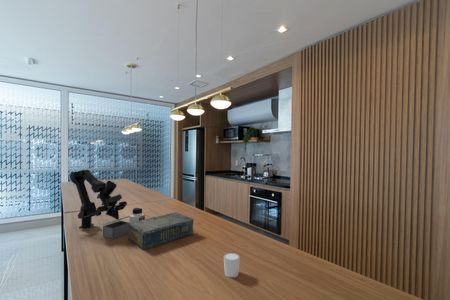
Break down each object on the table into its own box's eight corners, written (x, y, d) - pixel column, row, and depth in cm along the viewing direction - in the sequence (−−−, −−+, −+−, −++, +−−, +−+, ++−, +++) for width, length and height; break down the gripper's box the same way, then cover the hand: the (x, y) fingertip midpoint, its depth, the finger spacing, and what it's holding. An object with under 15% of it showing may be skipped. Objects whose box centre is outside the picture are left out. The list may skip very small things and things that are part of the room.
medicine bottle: (138, 228, 143) (139, 209, 143) (129, 227, 144) (129, 209, 144) (144, 224, 150) (145, 207, 150) (135, 223, 151) (135, 206, 151)
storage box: (102, 236, 128) (103, 226, 128) (120, 230, 138) (120, 220, 139) (112, 239, 124) (113, 228, 124) (130, 232, 134) (130, 222, 135)
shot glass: (222, 269, 92) (222, 252, 92) (238, 268, 93) (238, 252, 93) (224, 278, 86) (224, 260, 86) (241, 277, 86) (241, 260, 86)
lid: (102, 225, 128) (102, 224, 128) (120, 220, 139) (120, 218, 139) (112, 222, 124) (111, 220, 124) (129, 216, 135) (129, 215, 135)
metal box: (194, 235, 132) (194, 218, 132) (142, 251, 109) (143, 231, 109) (175, 226, 147) (175, 211, 147) (126, 239, 124) (126, 222, 124)
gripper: (97, 193, 125) (110, 214, 120) (125, 188, 142) (137, 207, 137) (89, 205, 129) (101, 226, 124) (117, 199, 145) (128, 218, 140)
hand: (118, 219), depth 131 cm, fingers closed, pressing on lid
